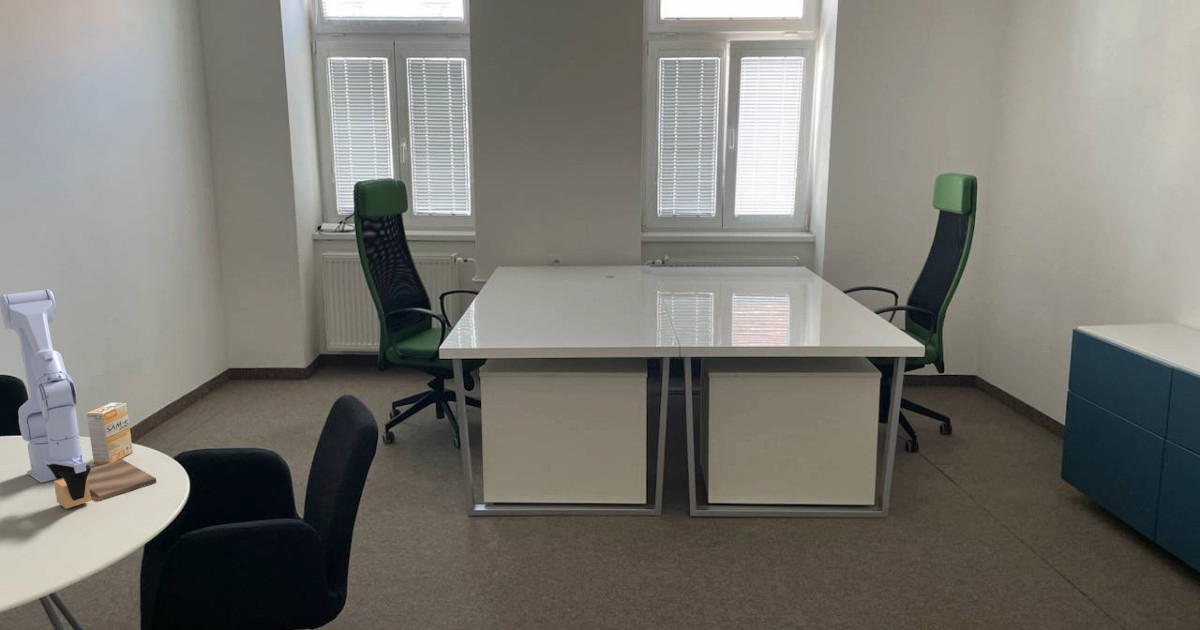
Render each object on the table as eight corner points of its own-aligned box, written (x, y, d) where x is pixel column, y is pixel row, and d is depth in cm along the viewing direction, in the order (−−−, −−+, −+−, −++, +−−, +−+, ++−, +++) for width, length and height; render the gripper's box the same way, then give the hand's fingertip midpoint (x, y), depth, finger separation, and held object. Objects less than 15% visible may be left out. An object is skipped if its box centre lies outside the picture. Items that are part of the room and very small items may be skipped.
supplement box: (110, 465, 215) (102, 413, 211) (93, 464, 215) (85, 412, 212) (134, 452, 222) (127, 402, 219) (117, 451, 223) (110, 401, 220)
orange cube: (57, 502, 193) (53, 480, 192) (82, 494, 197) (78, 473, 196) (66, 508, 190) (62, 486, 189) (91, 500, 194) (87, 479, 192)
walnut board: (68, 479, 207) (68, 475, 207) (122, 463, 216) (122, 459, 216) (100, 500, 195) (99, 495, 195) (156, 482, 204) (155, 478, 204)
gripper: (30, 433, 191) (40, 492, 195) (55, 449, 182) (65, 511, 185) (66, 424, 197) (75, 481, 200) (92, 439, 187) (102, 499, 191)
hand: (73, 495), depth 193 cm, fingers closed on orange cube, 5 cm apart
